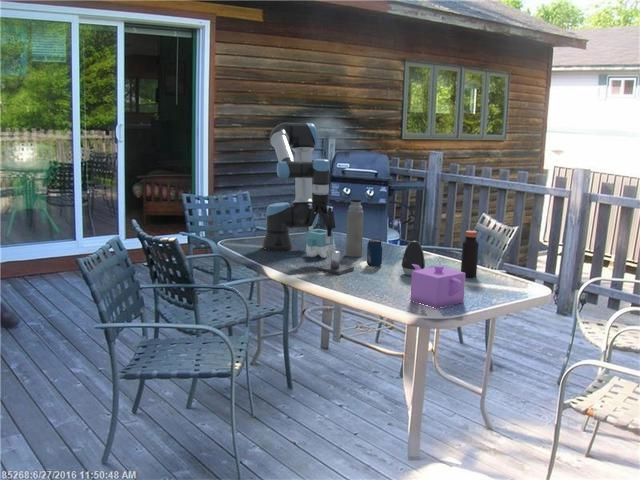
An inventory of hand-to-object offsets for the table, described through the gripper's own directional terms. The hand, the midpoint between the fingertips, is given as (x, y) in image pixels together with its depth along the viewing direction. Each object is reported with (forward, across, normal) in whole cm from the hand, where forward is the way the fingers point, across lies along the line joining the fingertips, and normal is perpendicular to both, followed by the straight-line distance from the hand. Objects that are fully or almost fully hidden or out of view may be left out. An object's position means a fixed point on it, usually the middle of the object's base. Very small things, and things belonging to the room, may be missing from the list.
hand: (319, 241), depth 301 cm
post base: (+10, +14, -6) cm, 18 cm away
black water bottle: (+10, +64, +26) cm, 69 cm away
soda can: (+11, +22, +14) cm, 28 cm away
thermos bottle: (+11, +2, +28) cm, 30 cm away
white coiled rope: (+11, -10, +12) cm, 20 cm away
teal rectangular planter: (+1, 0, 0) cm, 1 cm away
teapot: (+9, +70, -21) cm, 74 cm away
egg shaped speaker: (+10, +44, +12) cm, 46 cm away
